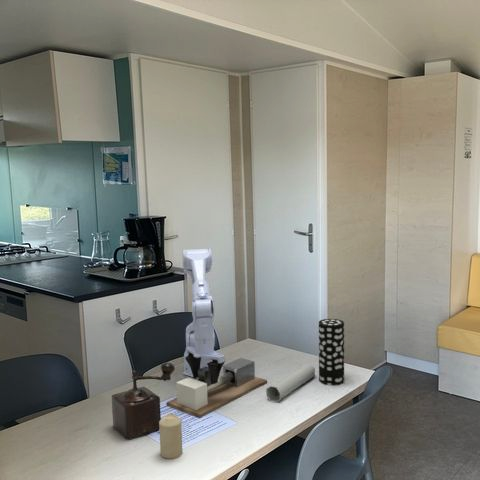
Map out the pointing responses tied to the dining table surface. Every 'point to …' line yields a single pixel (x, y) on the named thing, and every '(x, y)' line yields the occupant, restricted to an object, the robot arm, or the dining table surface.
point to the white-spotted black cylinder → (331, 351)
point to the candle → (170, 436)
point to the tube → (290, 383)
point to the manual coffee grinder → (138, 407)
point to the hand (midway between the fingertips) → (205, 380)
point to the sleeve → (240, 371)
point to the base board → (219, 397)
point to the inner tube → (205, 377)
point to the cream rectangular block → (192, 393)
